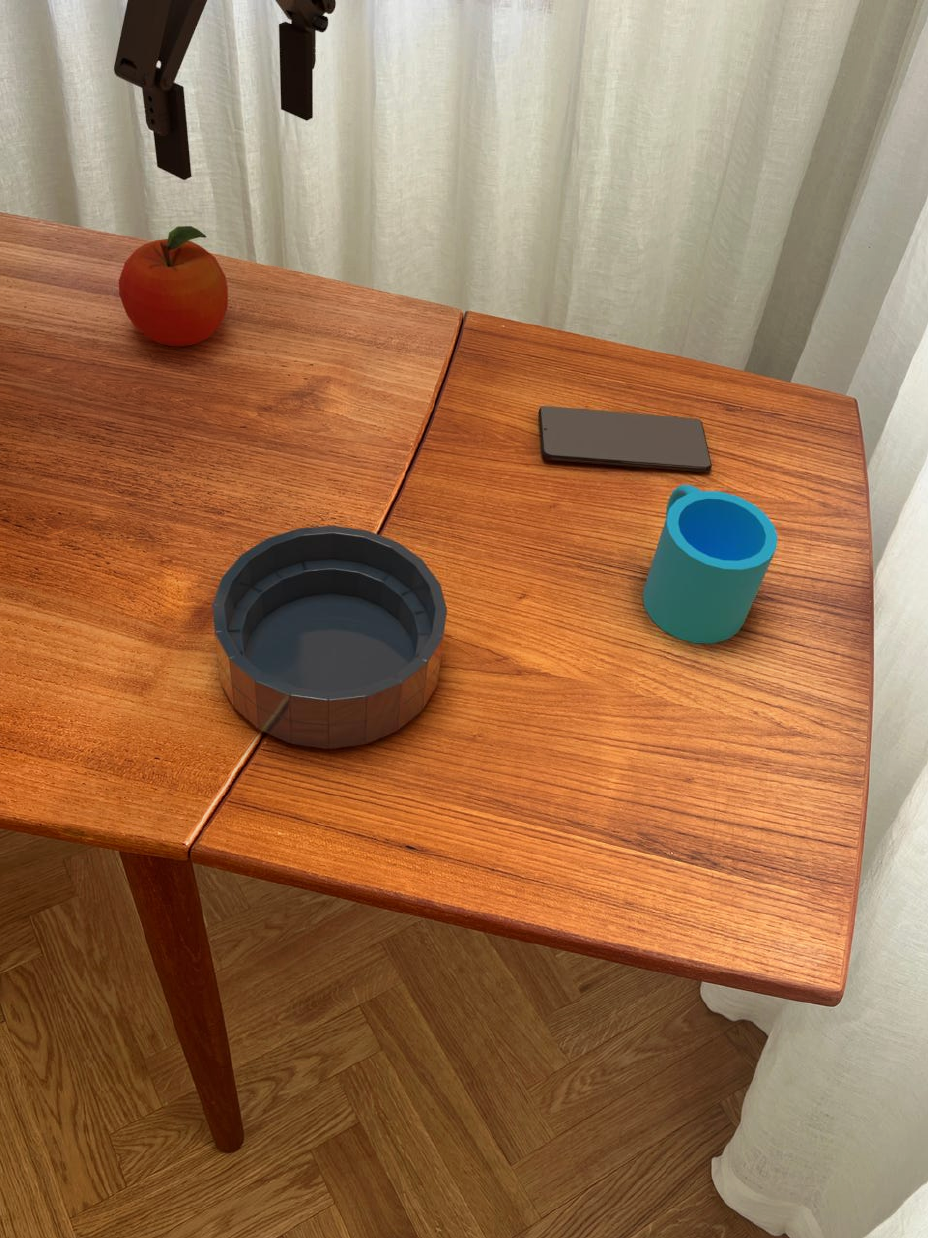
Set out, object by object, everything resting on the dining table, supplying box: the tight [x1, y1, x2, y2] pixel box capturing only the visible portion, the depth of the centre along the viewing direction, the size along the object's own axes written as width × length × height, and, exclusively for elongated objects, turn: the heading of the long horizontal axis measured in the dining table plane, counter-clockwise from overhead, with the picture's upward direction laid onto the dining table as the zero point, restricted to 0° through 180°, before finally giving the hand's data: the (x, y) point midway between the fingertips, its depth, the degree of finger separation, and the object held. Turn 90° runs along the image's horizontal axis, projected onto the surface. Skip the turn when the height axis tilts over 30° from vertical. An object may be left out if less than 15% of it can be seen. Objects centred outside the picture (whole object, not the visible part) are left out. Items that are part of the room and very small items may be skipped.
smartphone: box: [537, 405, 713, 473], centre depth 98 cm, size 7×1×15 cm
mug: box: [641, 484, 779, 645], centre depth 85 cm, size 12×8×8 cm
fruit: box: [118, 225, 229, 347], centre depth 100 cm, size 10×10×10 cm
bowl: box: [211, 525, 448, 750], centre depth 77 cm, size 16×16×6 cm
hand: (238, 141), depth 86 cm, fingers open, 13 cm apart
